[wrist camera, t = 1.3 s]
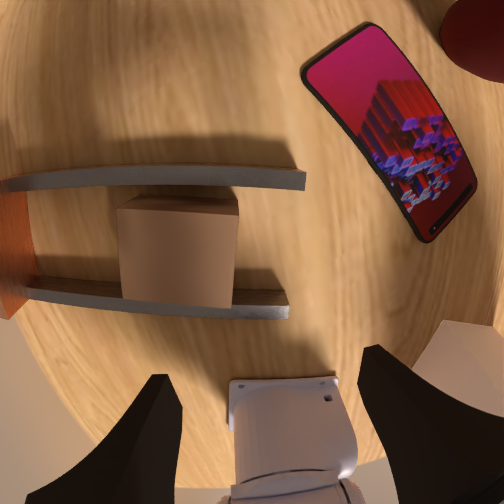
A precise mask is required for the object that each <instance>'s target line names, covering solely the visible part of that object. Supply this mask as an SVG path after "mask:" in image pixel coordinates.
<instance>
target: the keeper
mask: <svg viewBox="0 0 504 504" xmlns="http://www.w3.org/2000/svg"><path fill="white" fill-rule="evenodd" d="M116 219H117V240H118V255H119V267H120V277H121V286H122V294H123V299H130V300H139V301H148V302H157V303H168V304H178V305H190V306H202V307H216V308H231V304H232V292H233V280H234V268H235V256H236V245H237V234H238V223H239V208H238V200H231V199H218V198H203V197H187V196H167V195H144V194H140V195H138V196H136V197H135V198H133V199H131V200H130V201H128V202H126V203H125V204H123V205H121V206H120V207H118V208H117V209H116Z"/></svg>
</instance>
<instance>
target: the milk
mask: <svg viewBox="0 0 504 504" xmlns="http://www.w3.org/2000/svg"><path fill="white" fill-rule="evenodd" d="M411 370H412V371H413V372H415V373H416V374H417V375H419V376H420V377H421V378H423V379H424V380H426V381H427V382H429V383H430V384H432V385H433V386H435V387H436V388H438V389H439V390H441V391H443V392H444V393H446V394H448V395H449V396H451V397H453V398H455V399H457V400H459V401H461V402H463V403H465V404H467V405H469V406H472V407H474V408H477V409H479V410H482V411H484V412H487V413H490V414H493V415H497V416H500V417H504V338H503V337H502V336H501V335H500V334H499V333H498V332H497V330H496V329H495V328H494V327H492V326H485V325H478V324H471V323H464V322H457V321H451V320H444V319H443V320H442V321H441V323H440V325H439V327H438V328H437V330H436V332H435V333H434V335H433V337H432V338H431V340H430V341H429V343H428V345H427V346H426V348H425V349H424V351H423V352H422V354H421V356H420V357H419V359H418V360H417V361H416V363H415V364H414V366H413V367H412V369H411Z"/></svg>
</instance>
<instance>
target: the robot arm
mask: <svg viewBox="0 0 504 504" xmlns="http://www.w3.org/2000/svg"><path fill="white" fill-rule="evenodd" d="M338 382H339V379H338V377H337V376H326V377H313V378H298V379H273V380H232V381H230V383H229V430H230V431H233V432H234V448H235V474H236V485H231V495H230V496H224V497H222V498H221V500H220V501H219V502H218V503H217V504H366V503H365V500H364V497H363V495H362V493H361V490H360V489H359V487H358V486H357V485H356V483H354V482H352V481H350V480H349V479H347V477H349V476H350V475H351V474H352V473H353V471H354V469H355V467H356V464H357V458H358V448H357V440H356V436H355V433H354V430H353V427H352V424H351V422H350V419H349V416H348V414H347V411H346V408H345V406H344V403H343V401H342V398H341V395H340V393H339V390H338V388H337V384H338ZM357 385H358V388H359V391H360V395H361V398H362V401H363V404H364V406H365V408H366V411H367V413H368V415H369V417H370V419H371V421H372V424H373V426H374V428H375V430H376V432H377V434H378V436H379V438H380V441H381V443H382V445H383V447H384V450H385V452H386V455H387V457H388V461H389V464H390V467H391V471H392V474H393V478H394V482H395V486H396V490H397V495H398V500H399V504H504V417H500V416H497V415H493V414H490V413H487V412H484V411H482V410H479V409H477V408H474V407H472V406H469V405H467V404H465V403H463V402H461V401H459V400H457V399H455V398H453V397H451V396H449V395H448V394H446V393H444V392H443V391H441V390H439V389H438V388H436V387H435V386H433V385H432V384H430V383H429V382H427V381H426V380H424V379H423V378H421V377H420V376H419V375H417V374H416V373H415V372H413V371H412V370H411V369H409V368H408V367H407V366H405V365H404V364H403V363H401V362H400V361H399V360H398V359H396V358H395V357H394V356H393V355H391V354H390V353H389V352H388V351H386V350H385V349H384V348H383V347H381V346H380V345H379V344H377V345H373V346H369V347H365V348H364V350H363V356H362V361H361V367H360V372H359V377H358V382H357ZM182 409H183V407H182V405H181V403H180V401H179V398H178V396H177V394H176V392H175V390H174V388H173V385H172V383H171V381H170V378H169V376H168V374H152V375H151V377H150V378H149V379H148V381H147V382H146V384H145V385H144V387H143V388H142V390H141V391H140V392H139V394H138V395H137V397H136V398H135V400H134V401H133V402H132V404H131V405H130V407H129V408H128V409H127V411H126V412H125V413H124V415H123V416H122V417H121V419H120V420H119V421H118V422H117V424H116V425H115V426H114V427H113V429H112V430H111V431H110V432H109V433H108V435H107V436H106V437H105V438H104V439H103V440H102V441H101V442H100V443H99V445H98V446H97V447H96V448H95V449H94V450H93V451H92V452H91V453H89V454H88V455H87V456H86V457H85V458H84V459H83V460H82V461H80V462H79V463H78V464H77V465H76V466H74V467H73V468H72V469H71V470H69V471H68V472H66V473H65V474H63V475H62V476H61V477H59V478H58V479H56V480H55V481H53V482H51V483H49V484H48V485H46V486H44V487H42V488H40V489H38V490H36V491H34V492H32V493H29V494H28V495H27V497H26V501H25V504H174V485H175V474H176V467H177V460H178V454H179V447H180V440H181V434H182Z"/></svg>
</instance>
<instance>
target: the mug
mask: <svg viewBox="0 0 504 504" xmlns="http://www.w3.org/2000/svg"><path fill="white" fill-rule="evenodd" d="M440 40H441V43H442V46H443V48H444V50H445V52H446V54H447V55H448V56H449V58H450V59H451V60H452V61H453V62H454V63H455V64H456V65H457V66H459V67H461V68H462V69H464V70H466V71H468V72H470V73H472V74H474V75H476V76H479V77H481V78H483V79H486V80H489V81H493V82H499V83H504V0H458V1H456V2H455V3H454V4H453V5H452V6H451V7H450V8H449V10H448V11H447V13H446V16H445V18H444V21H443V23H442V26H441V29H440Z"/></svg>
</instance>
